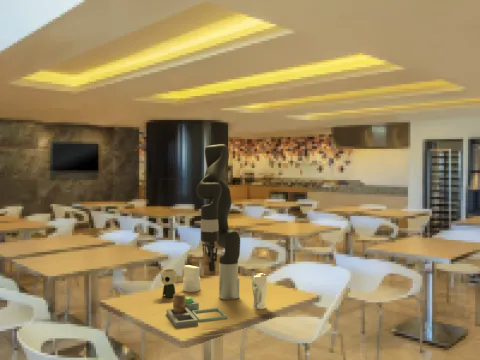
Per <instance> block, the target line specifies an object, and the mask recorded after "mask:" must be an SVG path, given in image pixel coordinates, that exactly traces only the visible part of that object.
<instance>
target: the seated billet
mask: <svg viewBox="0 0 480 360" xmlns="http://www.w3.org/2000/svg"><path fill="white" fill-rule="evenodd" d="M185 297H186V294H185V293H183V292H179V293H175V294H174V295H173V296H172V306H173V307H172V309H173V314H180V313H185Z"/></svg>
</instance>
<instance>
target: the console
mask: <svg viewBox="0 0 480 360" xmlns="http://www.w3.org/2000/svg"><path fill="white" fill-rule="evenodd" d="M192 298H193V297H192ZM199 306H200V303H199V302H198V300H196V299H195V298H193V303H187V304H185V307H187V308H188V309H189V310H190V311H191V312H192V311H193V310H200V307H199Z"/></svg>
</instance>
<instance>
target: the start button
mask: <svg viewBox="0 0 480 360" xmlns="http://www.w3.org/2000/svg"><path fill="white" fill-rule="evenodd" d="M187 303H193V297H192V296H185V304H187Z"/></svg>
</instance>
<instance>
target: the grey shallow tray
mask: <svg viewBox="0 0 480 360" xmlns="http://www.w3.org/2000/svg"><path fill="white" fill-rule="evenodd" d="M165 312H166V314H165V315H166V316H167V317H168V318H169V320H170V321H171V322H172V324H173V326H174V327H175V329H176V328H185V327H193V326H199V321H198V319H197V318H196V317H195V316H194V315H193V313H192V311H190V310H189V309H188V308H187V307H185V313H180V314H173V308H167V309H166V311H165Z"/></svg>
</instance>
